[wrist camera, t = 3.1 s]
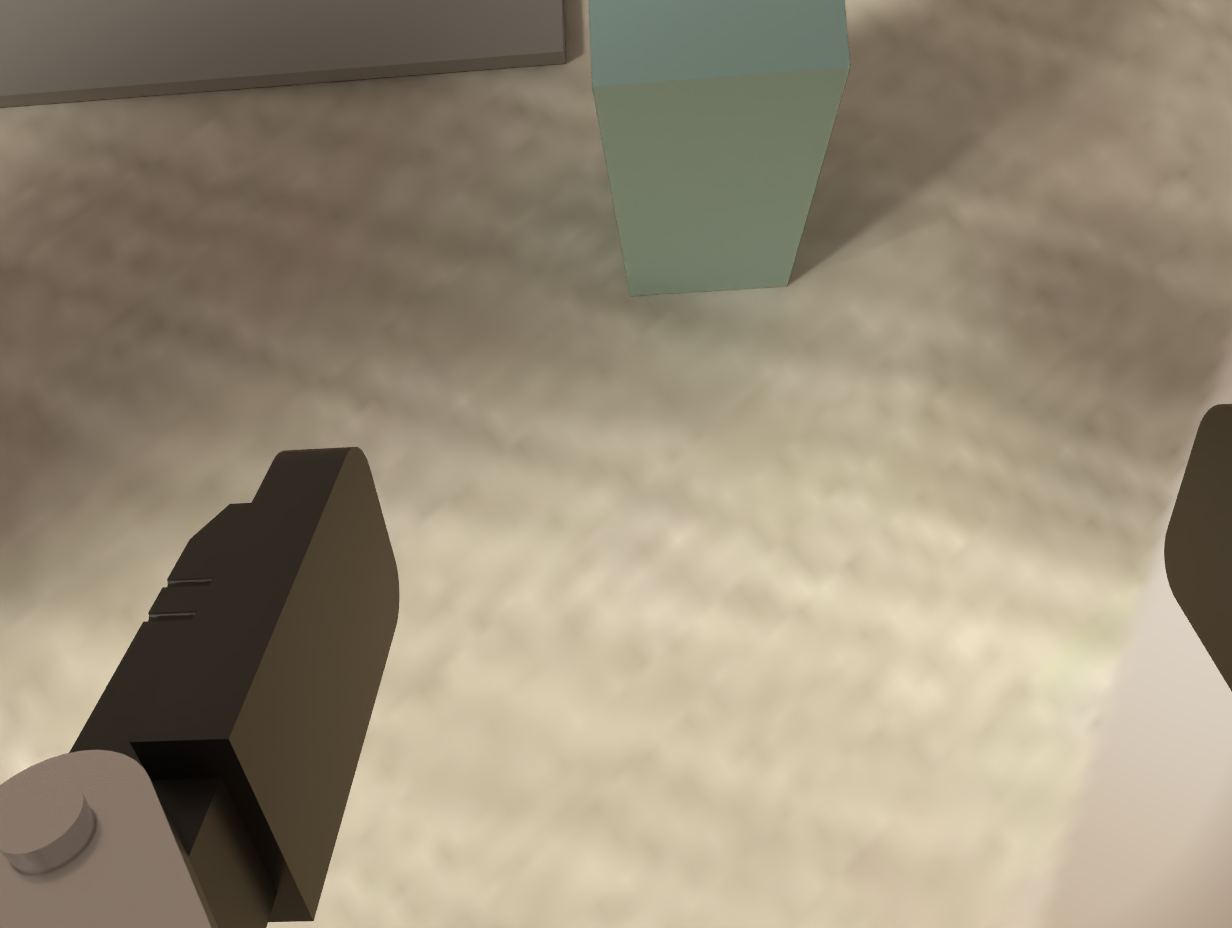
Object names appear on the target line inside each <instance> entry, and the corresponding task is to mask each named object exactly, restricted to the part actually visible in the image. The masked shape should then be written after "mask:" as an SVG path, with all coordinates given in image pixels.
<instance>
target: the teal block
mask: <svg viewBox="0 0 1232 928" xmlns="http://www.w3.org/2000/svg"><path fill="white" fill-rule="evenodd" d="M589 20H590V45H591V69H592V88H593V94H594V99H595V105H596V110H597V116H598V122H599V127H600V133H601V138H602V144H603V149H604V155H605V160H606V166H607V171H608V177H609V182H610V188H611V193H612V199H613V205H614V210H615V216H616V221H617V227H618V232H619V238H620V243H621V249H622V254H623V260H624V265H625V271H626V277H627V282H628V288H629V293H630V296H641V295H657V294H672V293H688V292H704V291H720V290H736V289H751V288H767V287H783V286H787V285H788V281H789V278H790V274H791V271H792V267H793V264H794V260H795V257H796V254H797V250H798V247H799V243H800V240H801V236H802V233H803V229H804V226H805V222H806V219H807V215H808V212H809V208H810V205H811V201H812V198H813V195H814V191H815V188H816V184H817V181H818V177H819V174H820V170H821V167H822V163H823V160H824V156H825V153H826V149H827V146H828V143H829V139H830V136H831V132H832V129H833V125H834V122H835V118H836V115H837V111H838V108H839V104H840V101H841V97H842V94H843V90H844V87H845V84H846V80H847V77H848V73H849V70H850V58H849V46H848V35H847V23H846V11H845V0H589Z"/></svg>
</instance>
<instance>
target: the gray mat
mask: <svg viewBox="0 0 1232 928" xmlns="http://www.w3.org/2000/svg"><path fill="white" fill-rule="evenodd" d="M564 63H566V52H565V25H564V0H0V108H1V107H14V106H27V105H39V104H52V103H65V102H78V101H91V100H103V99H116V98H129V97H142V96H155V95H167V94H180V93H193V92H206V91H219V90H231V89H244V88H257V87H270V86H282V85H295V84H308V83H321V82H334V81H346V80H359V79H372V78H385V77H398V76H410V75H423V74H436V73H449V72H462V71H474V70H487V69H500V68H513V67H525V66H538V65H551V64H564Z"/></svg>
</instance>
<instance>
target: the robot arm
mask: <svg viewBox="0 0 1232 928" xmlns="http://www.w3.org/2000/svg"><path fill="white" fill-rule="evenodd" d="M1164 556H1165V567H1166V573H1167V578H1168V581H1169V585H1170V588H1171V590H1172V592H1173V595H1174V597H1175V598H1176V600H1177V602H1178V604H1179V605H1180V607H1181V609H1182V610H1183V612H1184V614H1185V615H1186V616H1187V618H1188V620H1189V622H1190V623H1191V625H1192V627H1193V628H1194V630H1195V632H1196V633H1197V635H1198V637H1199V638H1200V640H1201V641H1202V643H1203V645H1204V646H1205V648H1206V650H1207V651H1208V653H1209V655H1210V656H1211V658H1212V660H1213V661H1214V663H1215V665H1216V666H1217V668H1218V670H1219V671H1220V673H1221V674H1222V676H1223V678H1224V679H1225V681H1226V683H1227V684H1228V686H1229V688H1230V689H1231V691H1232V404H1220V405H1216V406H1214V407H1212V408H1211V409H1210V410H1208V412H1207V413H1206V414H1205V415H1204V417H1203V419H1202V421H1201V423H1200V426H1199V428H1198V431H1197V434H1196V438H1195V441H1194V444H1193V447H1192V451H1191V454H1190V457H1189V460H1188V464H1187V467H1186V470H1185V473H1184V477H1183V480H1182V483H1181V486H1180V490H1179V493H1178V496H1177V499H1176V503H1175V506H1174V509H1173V512H1172V516H1171V519H1170V522H1169V525H1168V529H1167V533H1166V538H1165V548H1164ZM167 581H168V586H167V587H166V588H162V590H161V591H160V593H159V595H158V597H157V598H156V600H155V602H154V604H153V606H152V607H151V609H150V611H149V613H148V614H149V620H148V622H143V623H142V625H141V627H140V629H139V630H138V632H137V634H136V636H135V637H134V639H133V641H132V643H131V644H130V646H129V648H128V650H127V652H126V653H125V655H124V657H123V659H122V660H121V662H120V664H119V666H118V668H117V669H116V671H115V673H114V675H113V676H112V678H111V680H110V682H109V683H108V685H107V687H106V689H105V691H104V692H103V694H102V696H101V698H100V699H99V701H98V703H97V705H96V706H95V708H94V710H93V712H92V714H91V715H90V717H89V719H88V721H87V722H86V724H85V726H84V728H83V729H82V731H81V733H80V735H79V737H78V738H77V740H76V742H75V744H74V745H73V747H72V749H71V751H70V752H69V753H67V754H63V755H60V756H57V757H54V758H50V759H47V760H45V761H43V762H40V763H38V764H36V765H34V766H31V767H29V768H27V769H26V770H24V771H22V772H20V773H18V774H17V775H15V776H13V777H12V778H10V779H9V780H7V781H6V782H4V783H3V784H1V785H0V928H266V926H267V923H268V922H290V921H314V917H315V914H316V910H317V907H318V903H319V899H320V896H321V892H322V889H323V885H324V882H325V878H326V874H327V871H328V867H329V864H330V860H331V857H332V853H333V850H334V846H335V842H336V839H337V835H338V832H339V828H340V825H341V821H342V817H343V814H344V810H345V807H346V803H347V800H348V796H349V792H350V789H351V785H352V782H353V778H354V775H355V771H356V767H357V764H358V760H359V757H360V753H361V750H362V746H363V743H364V739H365V735H366V732H367V728H368V725H369V721H370V718H371V714H372V710H373V707H374V703H375V700H376V696H377V693H378V689H379V685H380V682H381V678H382V675H383V671H384V668H385V664H386V660H387V657H388V653H389V650H390V646H391V643H392V639H393V636H394V632H395V628H396V624H397V619H398V611H399V580H398V572H397V566H396V562H395V558H394V554H393V551H392V547H391V543H390V540H389V536H388V532H387V529H386V525H385V521H384V518H383V514H382V510H381V507H380V503H379V500H378V496H377V492H376V489H375V485H374V481H373V478H372V474H371V470H370V467H369V464H368V461H367V459H366V456H365V455H364V453H363V451H362V450H361V449H360V448H358V447H346V448H327V449H307V450H288V451H282V452H280V453H279V454H278V455H277V456H276V457H275V459H274V460H273V462H272V464H271V466H270V468H269V470H268V472H267V474H266V476H265V478H264V480H263V482H262V484H261V486H260V488H259V490H258V491H257V493H256V495H255V497H254V499H253V501H252V503H240V504H229V505H228V506H227V507H226V508H225V509H224V510H223V511H221V512H220V513H219V514H218V515H217V516H216V517H215V518H214V519H212V520H211V521H210V522H209V523H208V524H207V525H206V526H204V527H203V528H202V529H201V530H200V531H199V532H198V533H197V534H195V535H194V536H193V537H192V538H191V539H190V540H189V542H188V544H187V545H186V547H185V549H184V551H183V552H182V554H181V556H180V558H179V560H178V561H177V563H176V565H175V567H174V568H173V570H172V572H171V574H170V575H169V577H168V579H167Z"/></svg>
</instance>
